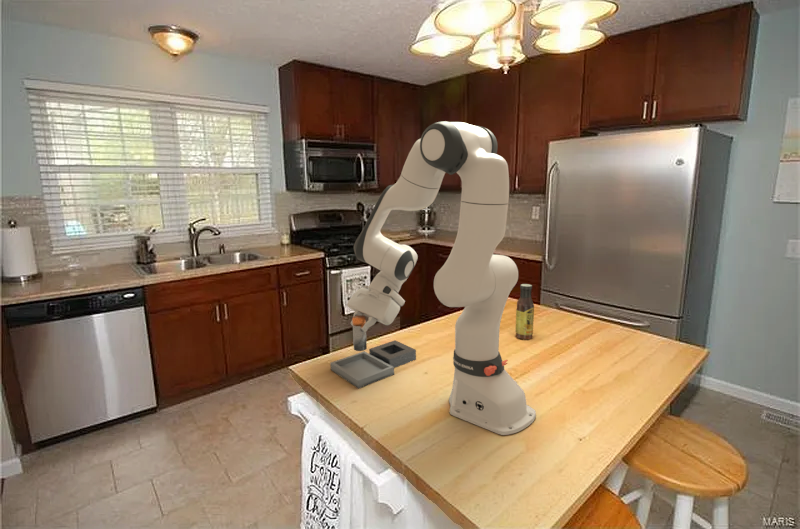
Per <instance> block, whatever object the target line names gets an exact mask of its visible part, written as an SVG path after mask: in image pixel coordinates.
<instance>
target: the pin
mask: <svg viewBox="0 0 800 529" xmlns="http://www.w3.org/2000/svg"><path fill="white" fill-rule="evenodd" d="M366 318H367V316H364V315H362V316H361V315H359V316H354V317H353V316H352V319H351V321H352V323H353V326H352V337H353V338H352V339H353V341H352V344H353V350H354V351H355V352H364V351H366V350H367V349H368V348H367V347H368V346H367V345H368V343H367V342H368V341H367V331H366V332H364V331H362V330H361V329H360V327H361V326H362V324H365V323H366V322H367V321H366V320H367V319H366Z"/></svg>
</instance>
